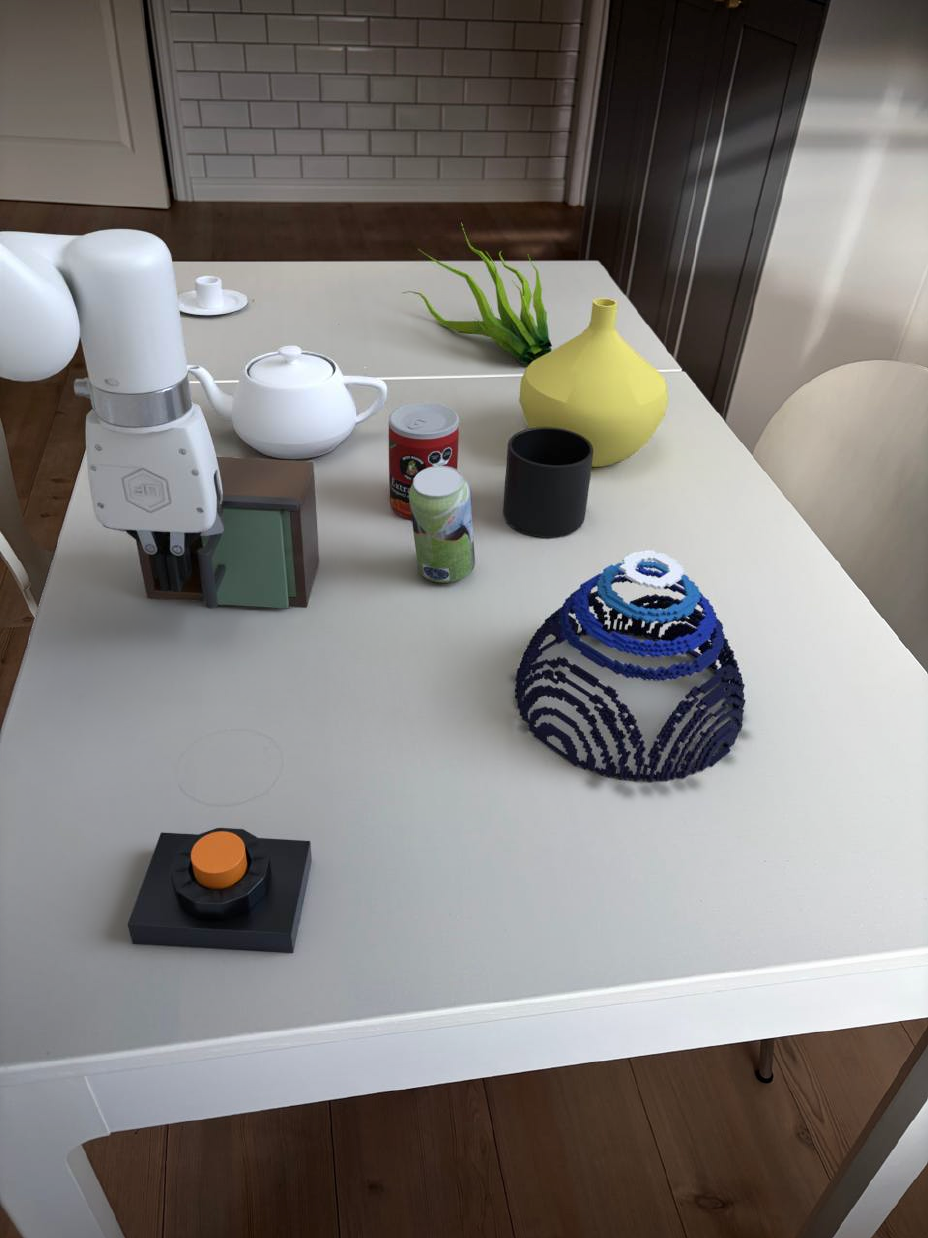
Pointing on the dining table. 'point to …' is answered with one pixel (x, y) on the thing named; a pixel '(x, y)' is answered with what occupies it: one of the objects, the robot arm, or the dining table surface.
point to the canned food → (419, 447)
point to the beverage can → (442, 524)
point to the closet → (261, 489)
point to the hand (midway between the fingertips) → (175, 582)
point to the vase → (596, 390)
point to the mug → (547, 481)
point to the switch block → (223, 897)
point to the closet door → (245, 560)
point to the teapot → (291, 403)
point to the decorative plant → (505, 315)
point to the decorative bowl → (637, 669)
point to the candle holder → (210, 298)
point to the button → (219, 860)
